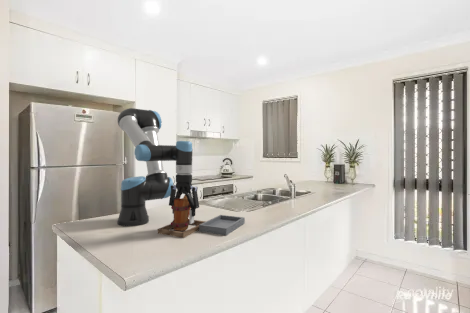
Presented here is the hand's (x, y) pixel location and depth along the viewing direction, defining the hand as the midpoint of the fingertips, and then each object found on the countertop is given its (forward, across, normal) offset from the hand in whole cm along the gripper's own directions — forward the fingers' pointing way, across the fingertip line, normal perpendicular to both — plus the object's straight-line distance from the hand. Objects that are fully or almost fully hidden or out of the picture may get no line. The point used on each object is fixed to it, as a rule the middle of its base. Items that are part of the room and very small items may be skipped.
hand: (183, 221), depth 119 cm
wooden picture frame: (+4, 0, 0) cm, 4 cm away
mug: (+3, 0, 0) cm, 3 cm away
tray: (+3, +15, +11) cm, 19 cm away
